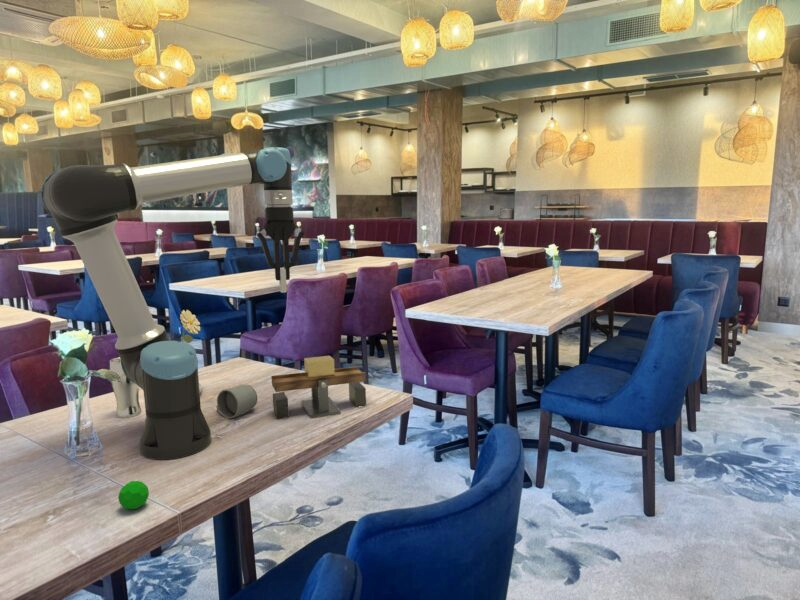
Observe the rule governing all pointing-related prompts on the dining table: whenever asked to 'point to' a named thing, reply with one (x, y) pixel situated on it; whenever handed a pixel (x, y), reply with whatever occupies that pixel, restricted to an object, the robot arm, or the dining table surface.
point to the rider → (319, 367)
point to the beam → (316, 379)
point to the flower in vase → (189, 328)
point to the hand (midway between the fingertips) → (283, 291)
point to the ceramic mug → (236, 400)
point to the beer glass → (125, 392)
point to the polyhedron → (133, 495)
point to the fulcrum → (319, 401)
